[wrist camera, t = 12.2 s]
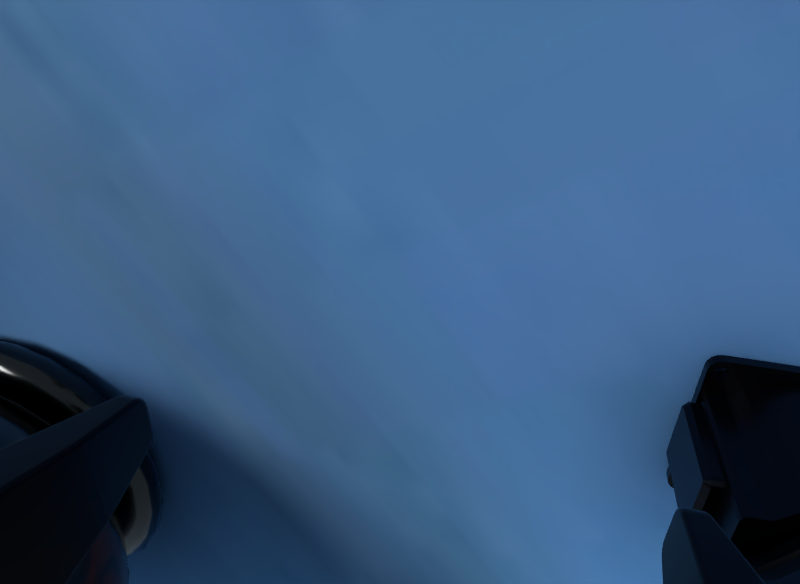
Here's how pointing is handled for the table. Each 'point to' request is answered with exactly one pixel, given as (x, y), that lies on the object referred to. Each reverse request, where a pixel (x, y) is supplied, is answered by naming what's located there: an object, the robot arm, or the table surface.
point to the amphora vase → (53, 403)
